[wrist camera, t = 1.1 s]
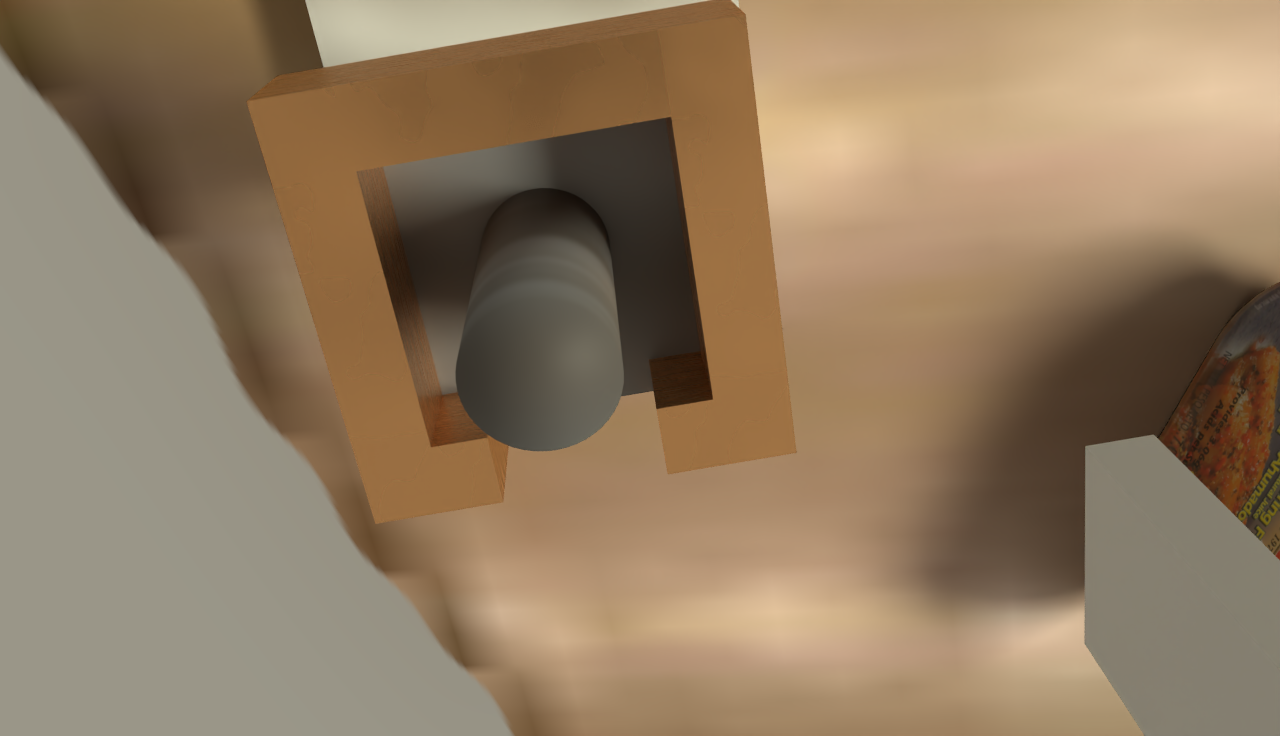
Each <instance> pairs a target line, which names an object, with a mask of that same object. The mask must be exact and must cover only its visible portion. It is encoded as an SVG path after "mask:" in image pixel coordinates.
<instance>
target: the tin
mask: <svg viewBox="0 0 1280 736" xmlns="http://www.w3.org/2000/svg"><path fill="white" fill-rule="evenodd" d="M1159 440H1160V441H1161V442H1162V443H1163V444H1164V445H1165V446H1166V447H1167V448H1168V449H1169V450H1170V451H1171V452H1172V453H1173V454H1174V455H1175V456H1176V457H1177V458H1178V459H1179V460H1180V461H1181V462H1182V463H1183V464H1184V465H1185V466H1186V467H1187V468H1188V469H1189V470H1190V471H1191V472H1192V473H1193V474H1194V475H1195V476H1196V477H1197V478H1198V479H1199V480H1200V481H1201V482H1202V483H1203V484H1204V485H1205V486H1206V487H1207V488H1208V489H1209V490H1210V491H1211V492H1212V493H1213V494H1214V495H1215V496H1216V497H1217V498H1218V499H1219V500H1220V501H1221V502H1222V503H1223V504H1224V505H1225V506H1226V507H1227V508H1228V509H1229V510H1230V511H1231V512H1232V513H1233V514H1234V515H1235V516H1236V517H1237V518H1238V519H1239V520H1240V521H1241V522H1242V523H1243V524H1244V525H1245V526H1246V527H1247V528H1248V529H1249V530H1250V531H1251V532H1252V533H1253V534H1254V535H1255V536H1256V537H1257V538H1258V539H1259V540H1260V541H1261V542H1262V543H1263V544H1264V545H1265V546H1266V547H1267V548H1268V549H1269V550H1270V551H1271V552H1272V553H1273V554H1274V555H1275V556H1276V557H1277V558H1278V559H1279V560H1280V282H1279V283H1277V284H1275V285H1273V286H1271V287H1269V288H1267V289H1266V290H1264V291H1263V292H1261V293H1260V294H1258V295H1257V296H1256V297H1254V298H1253V299H1252V300H1251V301H1250V302H1248V303H1247V304H1246V305H1245V306H1244V307H1242V308H1241V309H1240V310H1239V311H1238V312H1237V313H1236V315H1235V316H1234V317H1233V318H1232V319H1231V320H1230V321H1229V323H1228V324H1227V325H1226V326H1225V327H1224V329H1223V330H1222V331H1221V333H1220V334H1219V336H1218V338H1217V339H1216V341H1215V342H1214V344H1213V346H1212V347H1211V349H1210V351H1209V353H1208V354H1207V356H1206V358H1205V360H1204V361H1203V363H1202V365H1201V367H1200V368H1199V370H1198V372H1197V373H1196V375H1195V377H1194V379H1193V380H1192V382H1191V384H1190V385H1189V387H1188V389H1187V391H1186V392H1185V394H1184V396H1183V397H1182V399H1181V401H1180V403H1179V404H1178V407H1177V408H1176V410H1175V411H1174V413H1173V415H1172V416H1171V418H1170V420H1169V422H1168V424H1167V425H1166V427H1165V428H1164V430H1163V432H1162V434H1161V435H1160V437H1159Z"/></svg>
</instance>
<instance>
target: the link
mask: <svg viewBox="0 0 1280 736" xmlns="http://www.w3.org/2000/svg"><path fill="white" fill-rule="evenodd" d="M246 102H247V105H248V108H249V112H250V115H251V118H252V121H253V125H254V128H255V131H256V134H257V138H258V141H259V144H260V148H261V151H262V154H263V157H264V161H265V164H266V167H267V170H268V174H269V177H270V180H271V184H272V187H273V190H274V193H275V197H276V200H277V203H278V206H279V210H280V213H281V216H282V220H283V223H284V226H285V229H286V233H287V236H288V239H289V242H290V246H291V249H292V252H293V256H294V259H295V262H296V265H297V269H298V272H299V275H300V278H301V282H302V285H303V288H304V291H305V295H306V298H307V301H308V305H309V308H310V311H311V314H312V318H313V321H314V324H315V327H316V331H317V334H318V337H319V341H320V344H321V347H322V350H323V354H324V357H325V360H326V363H327V367H328V370H329V373H330V377H331V380H332V383H333V386H334V390H335V393H336V396H337V399H338V403H339V406H340V409H341V412H342V416H343V419H344V422H345V426H346V429H347V432H348V435H349V439H350V442H351V445H352V448H353V452H354V455H355V458H356V462H357V465H358V468H359V471H360V475H361V478H362V481H363V484H364V488H365V491H366V494H367V498H368V501H369V504H370V507H371V511H372V514H373V517H374V520H375V524H377V523H383V522H389V521H394V520H400V519H406V518H412V517H418V516H424V515H430V514H436V513H442V512H448V511H454V510H460V509H466V508H472V507H477V506H483V505H489V504H495V503H501V502H503V499H504V488H505V477H506V467H507V456H508V445H506V444H503V443H501V442H499V441H497V440H495V439H494V438H492V437H491V436H489V435H488V434H486V433H485V432H484V431H482V430H481V429H480V428H479V427H478V426H477V425H476V424H475V423H474V422H473V421H472V419H471V418H470V417H469V415H468V414H467V412H466V411H465V409H464V407H463V405H462V403H461V401H460V398H459V395H458V392H457V393H451V394H445V395H442V391H441V387H440V383H439V379H438V375H437V372H436V368H435V364H434V360H433V356H432V352H431V349H430V345H429V341H428V337H427V333H426V329H425V326H424V322H423V318H422V314H421V310H420V307H419V303H418V299H417V295H416V291H415V287H414V284H413V280H412V276H411V272H410V268H409V264H408V261H407V257H406V253H405V249H404V245H403V241H402V238H401V234H400V230H399V226H398V222H397V218H396V215H395V211H394V207H393V203H392V199H391V196H390V192H389V188H388V184H387V180H386V176H385V173H384V169H383V167H384V166H390V165H396V164H401V163H407V162H413V161H419V160H424V159H430V158H436V157H442V156H448V155H453V154H459V153H465V152H471V151H476V150H482V149H488V148H494V147H499V146H505V145H511V144H517V143H523V142H528V141H534V140H540V139H546V138H551V137H557V136H563V135H569V134H575V133H580V132H586V131H592V130H598V129H603V128H609V127H615V126H621V125H627V124H632V123H638V122H644V121H650V120H655V119H661V118H665V119H666V126H667V132H668V139H669V146H670V152H671V159H672V165H673V172H674V179H675V185H676V192H677V199H678V205H679V212H680V219H681V225H682V232H683V238H684V245H685V252H686V258H687V265H688V272H689V278H690V285H691V291H692V298H693V305H694V311H695V318H696V325H697V331H698V338H699V345H700V351H698V352H692V353H686V354H680V355H674V356H668V357H662V358H656V359H651V360H649V364H650V371H651V377H652V383H653V390H654V396H655V402H656V409H657V414H658V420H659V426H660V432H661V438H662V443H663V449H664V455H665V461H666V466H667V472H668V474H673V473H679V472H685V471H691V470H697V469H703V468H709V467H714V466H720V465H726V464H732V463H738V462H744V461H750V460H756V459H762V458H768V457H774V456H780V455H786V454H791V453H796V445H795V436H794V427H793V419H792V410H791V402H790V393H789V384H788V376H787V367H786V358H785V350H784V341H783V333H782V324H781V315H780V307H779V298H778V290H777V281H776V272H775V264H774V255H773V247H772V238H771V229H770V221H769V212H768V204H767V195H766V186H765V178H764V169H763V161H762V152H761V143H760V135H759V126H758V118H757V109H756V100H755V92H754V83H753V74H752V66H751V57H750V49H749V40H748V31H747V23H746V14H745V13H743V12H742V11H741V10H740V9H739V8H738V7H737V6H736V5H735V4H734V3H733V2H732V1H731V0H708V1H703V2H697V3H691V4H685V5H680V6H674V7H668V8H662V9H657V10H651V11H645V12H640V13H634V14H628V15H622V16H617V17H611V18H605V19H599V20H594V21H588V22H582V23H577V24H571V25H565V26H559V27H554V28H548V29H542V30H536V31H531V32H525V33H519V34H513V35H508V36H502V37H496V38H491V39H485V40H479V41H473V42H468V43H462V44H456V45H450V46H445V47H439V48H433V49H428V50H422V51H416V52H410V53H405V54H399V55H393V56H387V57H382V58H376V59H370V60H364V61H359V62H353V63H347V64H342V65H336V66H330V67H324V68H319V69H313V70H307V71H301V72H296V73H290V74H284V75H279V76H277V77H275V78H274V79H273V80H272V81H271V82H269V83H268V84H267V85H266V86H265V87H263V88H262V89H261V90H260V91H258V92H257V93H256V94H255V95H254V96H252V97H251V98H250V99H249V100H248V101H246Z"/></svg>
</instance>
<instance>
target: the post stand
mask: <svg viewBox="0 0 1280 736" xmlns="http://www.w3.org/2000/svg"><path fill="white" fill-rule="evenodd" d="M305 1H306V5H307V9H308V12H309V16H310V20H311V23H312V27H313V31H314V34H315V38H316V41H317V45H318V49H319V52H320V56H321V60H322V63H323V67H330V66H336V65H342V64H347V63H353V62H359V61H364V60H370V59H376V58H382V57H387V56H393V55H399V54H405V53H410V52H416V51H422V50H428V49H433V48H439V47H445V46H450V45H456V44H462V43H468V42H473V41H479V40H485V39H491V38H496V37H502V36H508V35H513V34H519V33H525V32H531V31H536V30H542V29H548V28H554V27H559V26H565V25H571V24H577V23H582V22H588V21H594V20H599V19H605V18H611V17H617V16H622V15H628V14H634V13H640V12H645V11H651V10H657V9H662V8H668V7H674V6H680V5H685V4H691V3H697V2H703V1H708V0H305ZM731 1H732V2H733V3H734V4H735V5H736V6H737V7H738V8H739V3H738V0H731ZM383 169H384V173H385V176H386V180H387V184H388V188H389V192H390V196H391V199H392V203H393V207H394V211H395V215H396V218H397V222H398V226H399V230H400V234H401V238H402V241H403V245H404V249H405V253H406V257H407V261H408V264H409V268H410V272H411V276H412V280H413V284H414V287H415V291H416V295H417V299H418V303H419V307H420V310H421V314H422V318H423V322H424V326H425V329H426V333H427V337H428V341H429V345H430V349H431V352H432V356H433V360H434V364H435V368H436V372H437V375H438V379H439V383H440V387H441V391H442V395H445V394H451V393H457V392H458V395H459V398H460V401H461V403H462V405H463V407H464V409H465V411H466V412H467V414H468V415H469V417H470V418H471V419H472V421H473V422H474V423H475V424H476V425H477V426H478V427H479V428H480V429H481V430H482V431H484V432H485V433H486V434H488V435H489V436H491V437H492V438H494V439H495V440H497V441H499V442H501V443H503V444H506V445H508V446H511V447H514V448H518V449H522V450H529V451H552V450H558V449H562V448H567V447H569V446H572V445H575V444H577V443H579V442H581V441H583V440H585V439H587V438H588V437H590V436H591V435H593V434H594V433H596V432H597V431H598V430H599V429H600V428H601V427H602V426H603V425H604V424H605V423H606V422H607V421H608V420H609V418H610V417H611V415H612V414H613V412H614V411H615V409H616V407H617V405H618V403H619V400H620V397H621V396H626V395H632V394H638V393H643V392H649V391H654V390H653V383H652V377H651V371H650V364H649V360H651V359H656V358H662V357H668V356H674V355H680V354H686V353H692V352H698V351H700V345H699V338H698V331H697V325H696V318H695V311H694V305H693V298H692V291H691V285H690V278H689V272H688V265H687V258H686V252H685V245H684V238H683V232H682V225H681V219H680V212H679V205H678V199H677V192H676V185H675V179H674V172H673V165H672V159H671V152H670V146H669V139H668V132H667V126H666V119H665V118H661V119H655V120H650V121H644V122H638V123H632V124H627V125H621V126H615V127H609V128H603V129H598V130H592V131H586V132H580V133H575V134H569V135H563V136H557V137H551V138H546V139H540V140H534V141H528V142H523V143H517V144H511V145H505V146H499V147H494V148H488V149H482V150H476V151H471V152H465V153H459V154H453V155H448V156H442V157H436V158H430V159H424V160H419V161H413V162H407V163H401V164H396V165H390V166H384V167H383Z"/></svg>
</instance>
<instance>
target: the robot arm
mask: <svg viewBox="0 0 1280 736" xmlns="http://www.w3.org/2000/svg"><path fill="white" fill-rule="evenodd" d="M1085 645H1086V646H1087V648H1088V649H1089V651H1090V652H1091V654H1092V656H1093V657H1094V659H1095V660H1096V662H1097V663H1098V665H1099V666H1100V668H1101V669H1102V671H1103V672H1104V674H1105V675H1106V677H1107V679H1108V680H1109V682H1110V683H1111V685H1112V686H1113V688H1114V689H1115V691H1116V692H1117V694H1118V695H1119V697H1120V698H1121V700H1122V701H1123V703H1124V705H1125V706H1126V708H1127V709H1128V711H1129V712H1130V714H1131V715H1132V717H1133V718H1134V720H1135V721H1136V723H1137V724H1138V726H1139V728H1140V729H1141V731H1142V732H1143V734H1144V735H1145V736H1280V560H1279V559H1278V558H1277V557H1276V556H1275V555H1274V554H1273V553H1272V552H1271V551H1270V550H1269V549H1268V548H1267V547H1266V546H1265V545H1264V544H1263V543H1262V542H1261V541H1260V540H1259V539H1258V538H1257V537H1256V536H1255V535H1254V534H1253V533H1252V532H1251V531H1250V530H1249V529H1248V528H1247V527H1246V526H1245V525H1244V524H1243V523H1242V522H1241V521H1240V520H1239V519H1238V518H1237V517H1236V516H1235V515H1234V514H1233V513H1232V512H1231V511H1230V510H1229V509H1228V508H1227V507H1226V506H1225V505H1224V504H1223V503H1222V502H1221V501H1220V500H1219V499H1218V498H1217V497H1216V496H1215V495H1214V494H1213V493H1212V492H1211V491H1210V490H1209V489H1208V488H1207V487H1206V486H1205V485H1204V484H1203V483H1202V482H1201V481H1200V480H1199V479H1198V478H1197V477H1196V476H1195V475H1194V474H1193V473H1192V472H1191V471H1190V470H1189V469H1188V468H1187V467H1186V466H1185V465H1184V464H1183V463H1182V462H1181V461H1180V460H1179V459H1178V458H1177V457H1176V456H1175V455H1174V454H1173V453H1172V452H1171V451H1170V450H1169V449H1168V448H1167V447H1166V446H1165V445H1164V444H1163V443H1162V442H1161V441H1160V440H1159V439H1158V438H1157V437H1156V436H1155V435H1148V436H1142V437H1136V438H1130V439H1125V440H1119V441H1113V442H1107V443H1101V444H1095V445H1089V446H1085Z"/></svg>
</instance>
